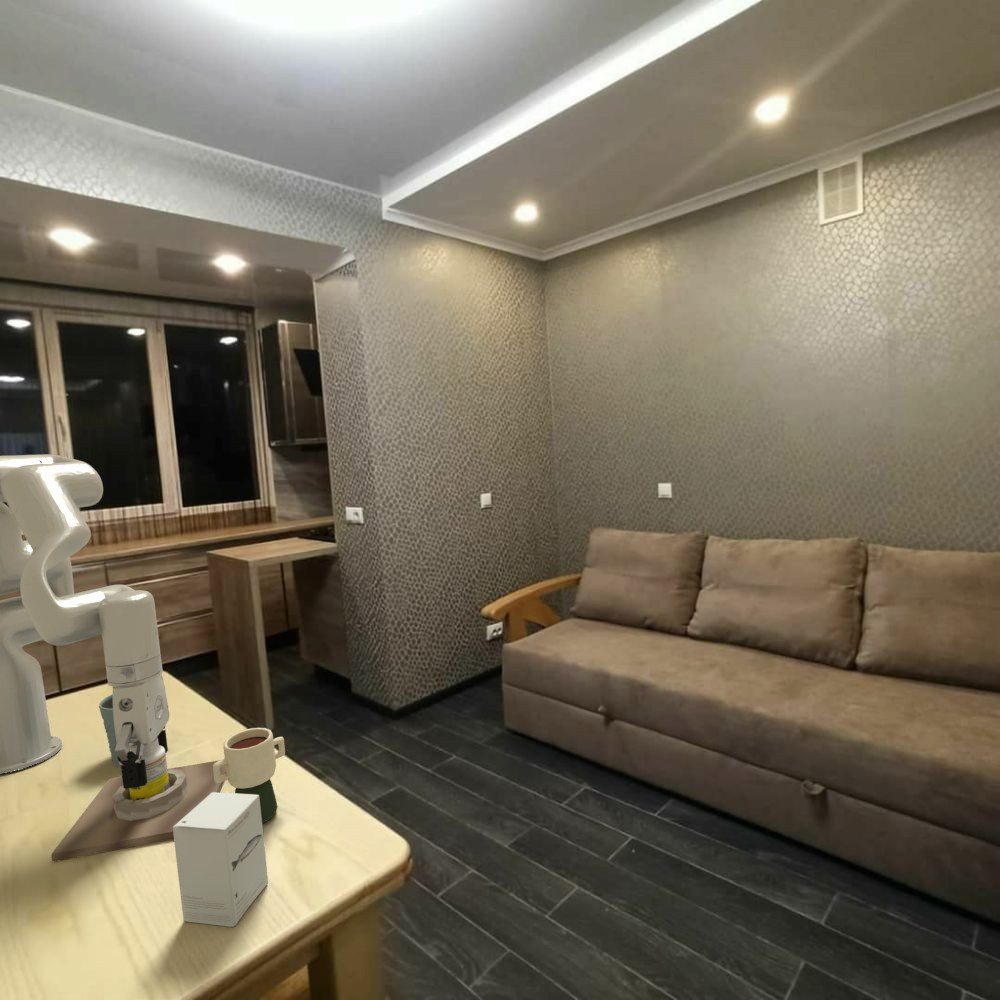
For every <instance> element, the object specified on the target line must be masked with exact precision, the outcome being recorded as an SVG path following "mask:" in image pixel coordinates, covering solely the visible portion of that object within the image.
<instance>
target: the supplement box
mask: <svg viewBox="0 0 1000 1000" xmlns="http://www.w3.org/2000/svg"><path fill="white" fill-rule="evenodd" d="M173 834H174V839H173V841H174V848H175V849H174V851H175V859H176V860H175V861H176V867H177V876H178V884H179V891H180V894H179V895H180V902H181V910H182V919H183V921H184V922H188V923H195V924H202V925H211V926H212V925H213V926H219V927H230V928H234V927H236V925H238V923H239V921H240V920H241V918H242V917H243V916H244V914H245V913H246V912H247V910H248V909H249V907H250V906H251V905H252V904H253V903H254V902H255V900H256V898H257V897H258V896H259V895H260V894H261V892H262V891H263V890H264V888H266V887H267V885H268V884H269V878H268V877H269V876H268V869H267V868H268V867H267V859H266V858H267V857H266V847H265V838H264V830H263V823H262V818H261V808H260V799H259V795H254V794H237V793H235V792H220V793H217V792H212V793H211V794H209V795H208V796H207V797H206V798H205V799H204V800H203V801H202V802H200V803H199V804H198V805H197V806H196V807H195V808H194V809H192V810H191V811H190V812H189V813H188V814H187V815H186V816H185V817H184V818H182V819H181V820H180V821H179V822H178V823H177V824H176V825H174V826H173Z"/></svg>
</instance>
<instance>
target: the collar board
mask: <svg viewBox="0 0 1000 1000" xmlns="http://www.w3.org/2000/svg"><path fill="white" fill-rule="evenodd" d="M220 760H221V759H219V760H214V761H207V762H201V763H195V764H190V765H184V766H177V767H170V768H167V769H168V777H169V786H170V788H169V789H167V790H166V791H165V792H163V793H161V794H158V795H156V796H153V797H151V798H147V799H141V800H136V801H133V800H131V799H130V791H129V788H128V789H125V788H124V787H123V780H122V776H118V777H117V776H116V777H111V778H109V779H108V780H107V782H105V784H104V785H103V786H102V788H101V789H100V790H99V792H98V793H97V794H96V796H95V797H94V798H93V800H91V802H90V803H89V805H88V806H87V808H85V810H84V811H83V813H82V814H81V815H80V816H79V817H78V819H76V821H75V823H74V824H73V825H72V827H71V828H70V829H69V830H68V832H67V833H66V834H65V836H64V837H63V838H62V839H61V841H60V842H59V843H58V844H57V846H56V847H55V848H54V850H53V851H52V852H51V854H50V856H51V857H50V858H51V862H52V861H54V862H58V860H60V861H64V859H65V860H70V859H75V858H79V857H80V858H81V857H85V856H91V855H95V854H101V853H106V852H113V851H117V850H123V849H128V848H132V847H133V848H134V847H138V846H144V845H149V844H155V843H158V842H160V843H161V842H164V841H170V840H174V834H173V826H174V825H176V824H177V823H178V822H179V821H180V820H181V819H182V818H184V817H185V816H186V815H187V814H188V813H189V812H190V811H191V810H192V809H194V808H195V807H196V806H197V805H198V804H199V803H200V802H202V801H203V800H204V799H205V798H206V797H207V796H208V795H209V794H211V793H212V792H217V793H221V791H222V789H223V786H224V784H225V782H226V781H224V782H221V783H217V784H216V783H215V781H214V774H213V765H214V764H215V763H216V762H218V761H220ZM220 773H221V776H222V775H224V774H226V766H222V767H220ZM69 858H70V859H69Z"/></svg>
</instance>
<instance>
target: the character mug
mask: <svg viewBox="0 0 1000 1000" xmlns="http://www.w3.org/2000/svg"><path fill="white" fill-rule="evenodd" d="M276 745H277V746H278V751H277V752H276V751H275V746H276ZM285 748H286V747H285V739H284V737H283V736H278V737H275V738H274V734H273V731H272V730H271V729H269V728H266V727H252V728H247V729H244V730H241V731H240V730H239V731H238V732H236V733H233V734H232V735H230V736H229V737H228V738H226V739H225V741H224V742H223V755H224V759H219V760H220V761H219V760H217V761H218V762H216V763H215V764H214V765H213V774H214V781H215V783H216V784H217V783H221V782H224V781H225V782H226V781H227V782H228V784H229V785H230V786H231V787H234V788H235V789H234V793H237V794H254V795H259V799H260V808H261V818H262V824H263V823H264V822H265V823H266V822H267V821H269V820H270V819H271V818H272V817H273V816H274V815H275V814H276V812H277V810H278V806H279V805H278V804H277V803H278V802H277V799H276V794H275V790H274V787H273V783H272V780H271V778H273V776H274V775H275V772H276V769H277V768H276V767H277V761H276V760H277V759H279V758H283V756H285V754H286V749H285ZM222 766H226V774H224V775H222V776H221V773H220V767H222ZM225 782H224V783H225Z"/></svg>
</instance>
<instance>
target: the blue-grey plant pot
mask: <svg viewBox="0 0 1000 1000" xmlns="http://www.w3.org/2000/svg"><path fill="white" fill-rule="evenodd" d="M98 707H99V711H100V715H101V719H102V721H103V726H104V730H105V733H106V737H107V741H108V744H109V745H108V748H109V753H110V756H111V760H112V763H113V765H114V766H115V767H119V768H121V766H120V765H119V761H118V758H117V756H118V755H117V753H116V751H115V747H116V744H117V742H116V736H115V729H114V717H113V693H112V694H110V695H107V697H104V698H103V699H102V700H101V701H100V702H99V703H98ZM135 740H136V739H135ZM133 741H134V740H130V742H133ZM129 749H130V748H129ZM129 751H130V750H129Z"/></svg>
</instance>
